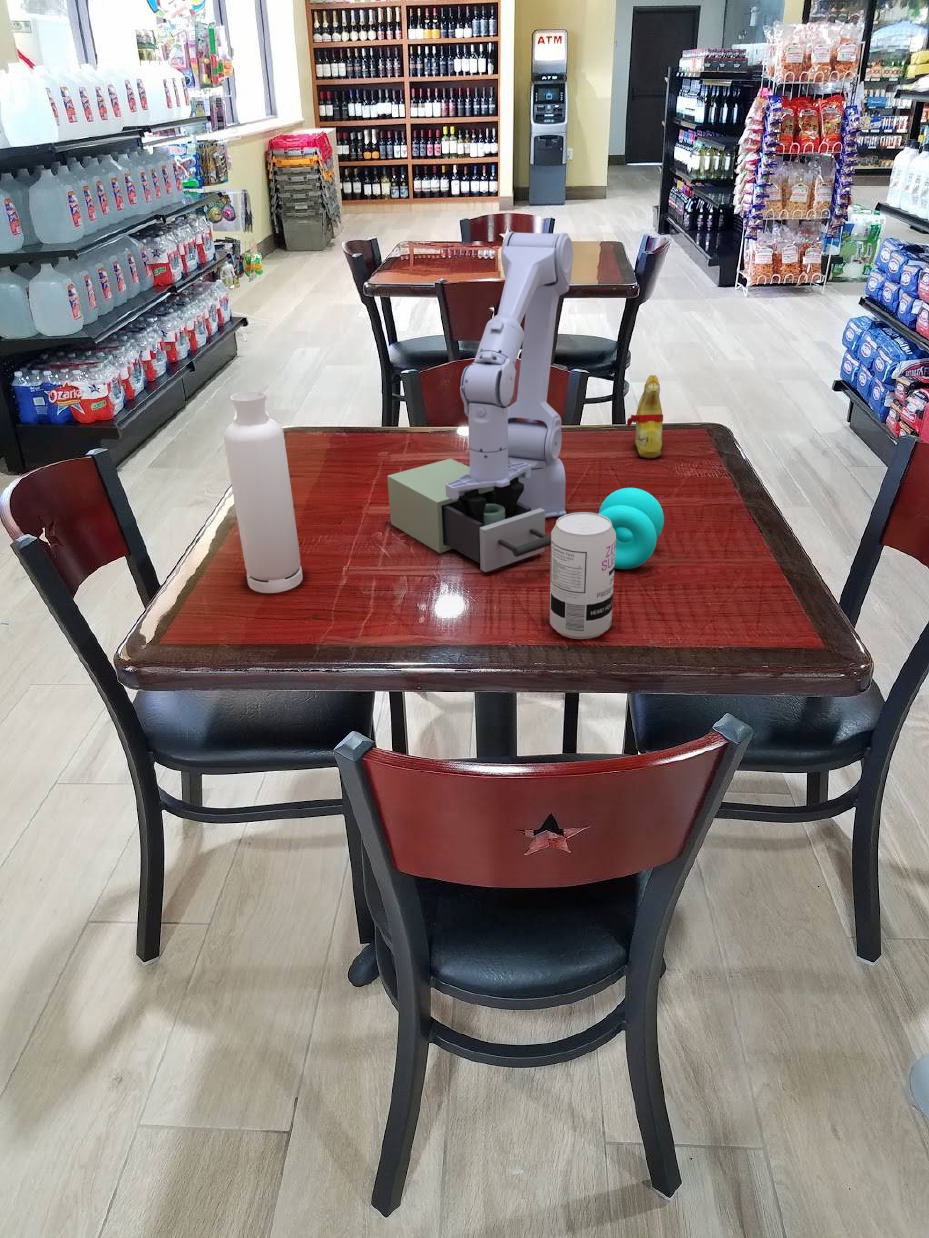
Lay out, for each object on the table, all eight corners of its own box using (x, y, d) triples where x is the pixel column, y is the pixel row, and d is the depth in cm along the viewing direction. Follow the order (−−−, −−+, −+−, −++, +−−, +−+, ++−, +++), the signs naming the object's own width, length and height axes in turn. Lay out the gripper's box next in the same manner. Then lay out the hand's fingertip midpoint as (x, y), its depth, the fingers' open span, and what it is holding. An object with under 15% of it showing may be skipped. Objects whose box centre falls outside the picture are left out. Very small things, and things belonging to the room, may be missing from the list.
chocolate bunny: (657, 441, 188) (663, 367, 180) (664, 460, 178) (670, 382, 171) (623, 441, 188) (627, 367, 181) (628, 460, 179) (632, 383, 171)
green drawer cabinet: (503, 532, 152) (502, 482, 147) (439, 553, 146) (437, 502, 141) (452, 505, 162) (450, 458, 158) (390, 524, 156) (387, 475, 152)
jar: (472, 535, 145) (471, 505, 143) (500, 531, 146) (500, 501, 144) (480, 547, 142) (479, 516, 139) (509, 542, 143) (508, 512, 140)
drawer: (566, 562, 139) (567, 520, 136) (506, 584, 134) (505, 541, 130) (492, 523, 153) (491, 484, 149) (434, 542, 147) (432, 502, 144)
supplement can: (544, 613, 128) (546, 512, 120) (604, 609, 128) (609, 508, 121) (554, 643, 121) (556, 538, 113) (617, 639, 121) (623, 534, 114)
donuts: (662, 548, 145) (667, 488, 140) (652, 576, 136) (657, 513, 131) (599, 541, 148) (602, 482, 143) (585, 568, 139) (587, 506, 134)
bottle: (306, 587, 137) (281, 400, 123) (250, 596, 135) (219, 407, 121) (298, 564, 143) (274, 384, 130) (245, 572, 142) (215, 391, 128)
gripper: (464, 464, 130) (466, 552, 137) (544, 442, 137) (543, 526, 144) (436, 451, 135) (440, 536, 142) (514, 430, 142) (514, 512, 149)
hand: (490, 530), depth 143 cm, fingers closed on jar, 4 cm apart
